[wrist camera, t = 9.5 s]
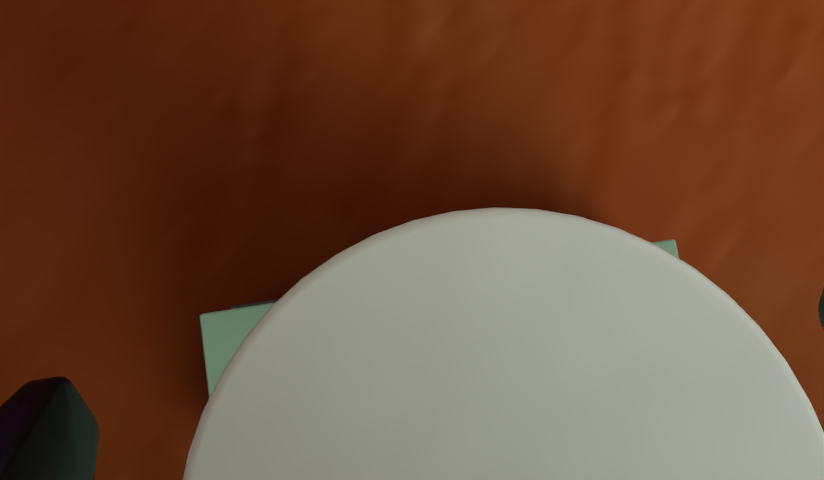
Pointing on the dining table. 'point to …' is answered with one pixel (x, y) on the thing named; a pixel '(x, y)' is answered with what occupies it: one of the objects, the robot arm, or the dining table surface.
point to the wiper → (500, 365)
